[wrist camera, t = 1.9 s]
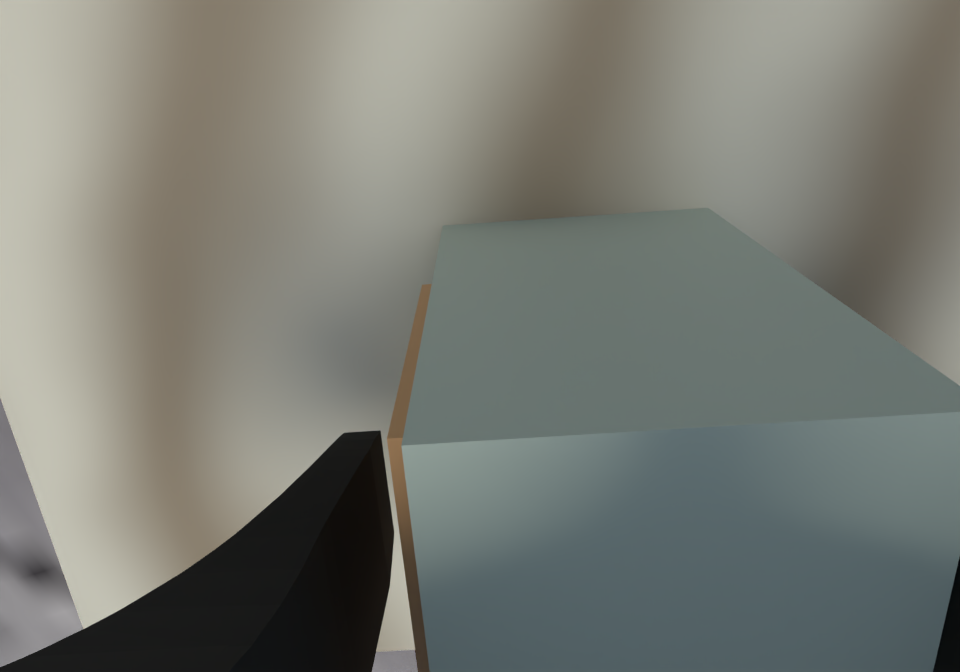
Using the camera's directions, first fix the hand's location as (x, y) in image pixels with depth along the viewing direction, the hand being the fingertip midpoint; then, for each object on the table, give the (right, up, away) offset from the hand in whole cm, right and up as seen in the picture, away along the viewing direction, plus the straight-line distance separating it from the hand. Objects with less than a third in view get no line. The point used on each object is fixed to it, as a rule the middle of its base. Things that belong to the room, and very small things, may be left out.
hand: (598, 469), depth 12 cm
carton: (0, +1, +3) cm, 3 cm away
